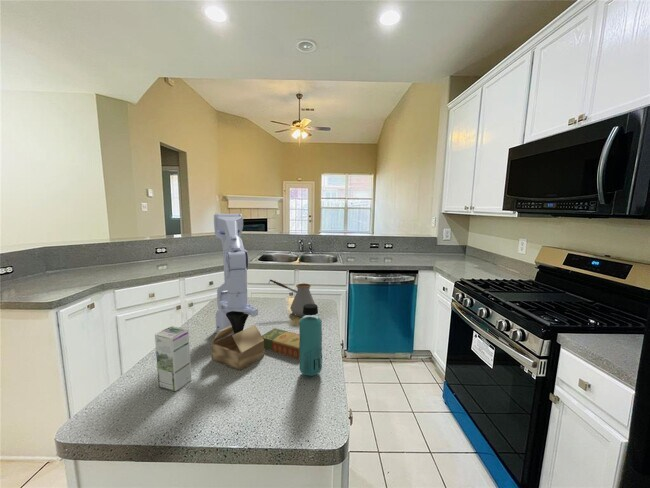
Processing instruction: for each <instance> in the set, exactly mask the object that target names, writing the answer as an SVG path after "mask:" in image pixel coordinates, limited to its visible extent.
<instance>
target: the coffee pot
mask: <svg viewBox="0 0 650 488" xmlns="http://www.w3.org/2000/svg"><path fill="white" fill-rule="evenodd" d="M270 283H273V284H275V285H277V286H279V287H282V288H283V289H287V290H290V291H291V292H294V293H296V294H295V295H294V298H293V301H292V302H291V305H290V310H291V312H292V313H293V314H294V315H295V316H297V317H301V318H302V317H304V316H305V314H303V306H304V305H306V304H316V303H315V300H314V297H313V296H312V293H311V291H310V288H311V286H312V285H311V284H309V283H304V282H303V283H299V284H296V286H295V287H296V289H294V288H291V287H289V286H287V285H285V284H284V283H281V282H278V281H276V280H273V279H269V281H268V283H267V284H270Z"/></svg>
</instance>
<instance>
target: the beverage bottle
mask: <svg viewBox="0 0 650 488" xmlns="http://www.w3.org/2000/svg"><path fill="white" fill-rule="evenodd" d="M318 313H319V309H318V304H316V303H315V304H306V305H304V306H303V314H305V316H304V317H301V318H300V319H299V321H298V324H299V328H298V331H299V333H298V334H299V336H300V344H299V359H298V361H299V371H300V373H301V374H302V375H305V376H311V377H312V376H316V375H319V374H320V373H321V372H322V370H323V369H322V368H323V351H322V350H323V348H322V347H323V343H322V342H323V329H322V328H323V327H322V325H323V320H322V319H321V318H320V317H319V316H318Z"/></svg>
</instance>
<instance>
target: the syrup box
mask: <svg viewBox="0 0 650 488" xmlns="http://www.w3.org/2000/svg"><path fill="white" fill-rule="evenodd" d="M189 331H190V330H189V329H188V328H182V327H178V326H173V325H172V326H170V327H167V328H165V329H162V330H159V332H157V333H155V334H154V342H155V355H156V356H155V358H156V368H157V381H158V382H157V383H158V388H162V389H165V390H168V391H173V392H176V391H178V390H180V389H181V388H182V387H184V386H185V385H187V384H188V383H189V382H191V381H192V369H191V352H190V332H189Z"/></svg>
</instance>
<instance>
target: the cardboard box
mask: <svg viewBox="0 0 650 488" xmlns="http://www.w3.org/2000/svg"><path fill="white" fill-rule="evenodd" d="M232 335H234V333H233V334H231V335H229V336H226V337H224V338H222V339H219V340H217V341H215V342H213V343H212V342H211V345H210V346H211V347H210V348H211V360H212V361H214V362H218V363H220V364H223V365H225V366H227V367H229V368H231V369H234V370H237V371H239V372H241V371H242V370H244V369H245V368H248V367H249V366H250V365H252V364H254V363H255V362H256V361H258V360H260V359H262V358H263V357H264V356H265V349H264V341H262V342H260V343H258V344H257V345H255V346H253V347H251V348H250V349H248V350H246V351H244V352H242V353H241V352H240V350H239V348H238V346H237V344H236V343H235V341H234V339H233V337H232Z"/></svg>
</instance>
